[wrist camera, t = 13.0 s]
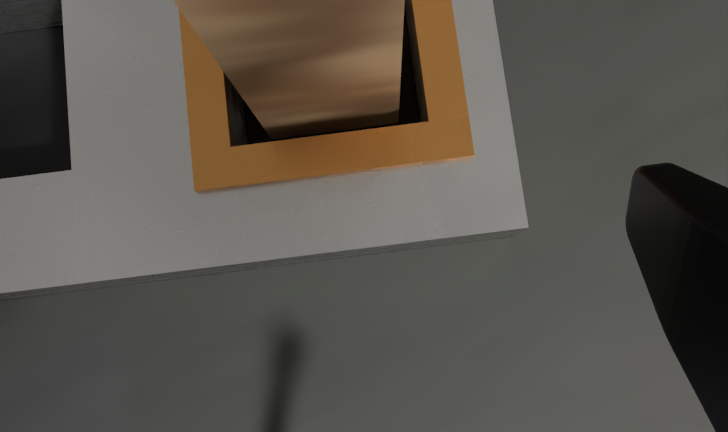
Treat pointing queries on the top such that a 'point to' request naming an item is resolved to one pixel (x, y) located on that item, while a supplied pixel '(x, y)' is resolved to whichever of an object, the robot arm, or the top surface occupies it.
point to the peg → (307, 59)
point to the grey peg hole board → (248, 158)
